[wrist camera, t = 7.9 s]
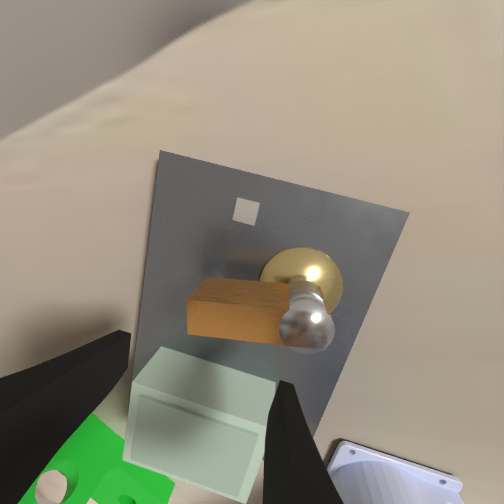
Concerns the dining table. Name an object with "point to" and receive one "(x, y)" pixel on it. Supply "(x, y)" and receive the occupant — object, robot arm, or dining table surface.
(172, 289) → the latch plate
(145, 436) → the cover
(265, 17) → the dining table surface
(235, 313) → the t key
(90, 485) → the mechanical part
